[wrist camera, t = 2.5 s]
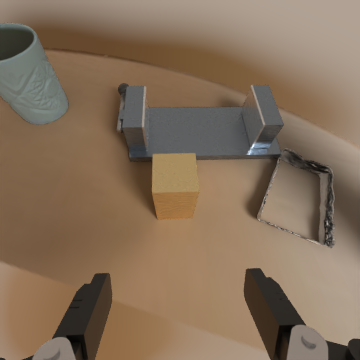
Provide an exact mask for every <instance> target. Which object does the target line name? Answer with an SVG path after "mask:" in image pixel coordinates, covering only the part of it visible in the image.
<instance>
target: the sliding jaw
mask: <svg viewBox="0 0 360 360" xmlns="http://www.w3.org/2000/svg"><path fill="white" fill-rule="evenodd" d="M241 112H242V116H243V120H244V124H245V128H246V132H247V136H248V140H249V144H250V148H269V146H270V145H271V143H272V142H273V140H274V139H275V137H276V136H277V134H278V133H279V131H280V130H281V128H282V127H283V125H284V124H283V122H282V119H281V116H280V114H279V111H278V108H277V105H276V103H275V100H274V98H273V95H272V92H271V90H270V87H269V85H251V86H250V89H249V92H248V94H247V97H246V100H245V102H244V105H243V107H242V110H241Z"/></svg>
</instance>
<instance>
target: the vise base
mask: <svg viewBox="0 0 360 360" xmlns="http://www.w3.org/2000/svg"><path fill="white" fill-rule="evenodd" d="M118 92H119V94H120V95H121V99H120V107H119V115H118V122H117V130H116V131H117V132H118V133H123V131H124V135H125V138H126V141H127V144H128V148H129V151H130V152H129V159H130V161H153V154H173V153H195V154H196V160H217V159H262V158H279V157H280V156H281V150H280V148H279V145H278V142H277V139H276V137H275V139H274V140H273V142H272V143H271V145H270V146H269V148H250V144H249V140H248V136H247V132H246V128H245V124H244V120H243V116H242V112H241V110H242V107H180V108H149V106H148V98H147V90H146V86H129V85H128V84H125V83H123V84H121V85H119V87H118Z"/></svg>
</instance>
